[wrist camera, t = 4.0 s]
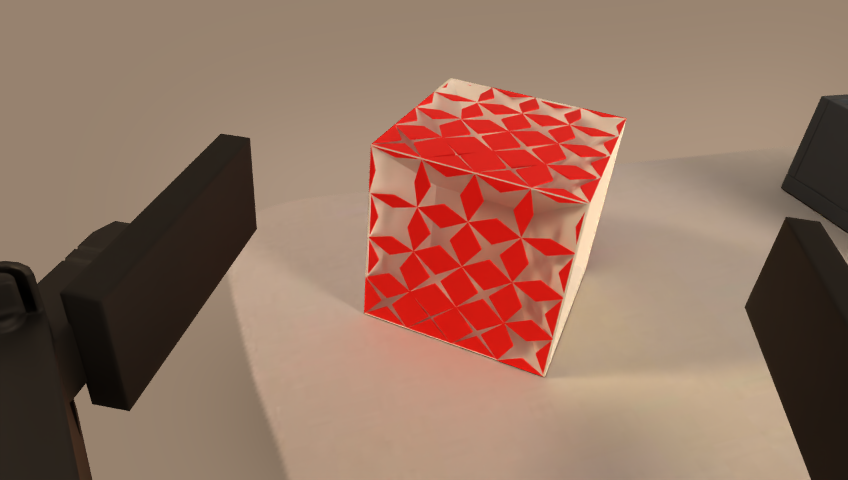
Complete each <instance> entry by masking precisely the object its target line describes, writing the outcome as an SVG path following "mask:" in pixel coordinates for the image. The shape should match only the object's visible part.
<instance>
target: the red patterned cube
mask: <svg viewBox="0 0 848 480" xmlns="http://www.w3.org/2000/svg"><path fill="white" fill-rule="evenodd" d="M626 120H627V118H623V117H618V116H614V115H610V114H606V113H601V112H597V111H593V110H588V109H584V108H579V107H574V106H571V105H566V104H562V103H557V102H553V101H549V100H544V99H539V98H536V97H532V96H527V95H523V94H518V93H514V92H510V91H505V90H501V89H497V88H492V87H488V86H483V85H479V84H475V83H470V82H466V81H462V80H457V79H453V78H450V79H449V80H447V81H446V82H445V83H444V84H443V85H442V86H440V87H439V88H438V89H437V90H435V91H434V92H433V93H432V94H431V95H430V96H428V97H427V98H426V99H425V100H424V101H422V102H421V103H420V104H419V105H418V106H416V107H415V108H414V109H413V110H412V111H410V112H409V113H408V114H407V115H406V116H404V117H403V118H402V119H401V120H400V121H398V122H397V123H396V124H395V125H394V126H392V127H391V128H390V129H389V130H388V131H386V132H385V133H384V134H383V135H382V136H380V137H379V138H378V139H377V140H376V141H375V142H373V143H372V144H371V152H370V179H369V203H368V228H367V254H366V279H365V304H364V314H367V315H370V316H373V317H376V318H379V319H382V320H384V321H387V322H390V323H393V324H396V325H399V326H401V327H404V328H407V329H410V330H413V331H416V332H418V333H421V334H424V335H427V336H430V337H433V338H435V339H438V340H441V341H444V342H447V343H450V344H452V345H455V346H458V347H461V348H464V349H467V350H470V351H472V352H475V353H478V354H481V355H484V356H487V357H489V358H492V359H495V360H497V361H500V362H503V363H506V364H508V365H511V366H514V367H517V368H520V369H523V370H525V371H528V372H531V373H534V374H537V375H540V376H542V377H545V375H546V373H547V370H548V367H549V365H550V362H551V359H552V357H553V354H554V351H555V349H556V346H557V344H558V341H559V338H560V336H561V333H562V330H563V328H564V325H565V322H566V320H567V317H568V314H569V312H570V309H571V307H572V304H573V301H574V299H575V296H576V293H577V291H578V288H579V285H580V283H581V280H582V277H583V275H584V272H585V269H586V266H587V262H588V258H589V255H590V251H591V248H592V244H593V240H594V237H595V233H596V229H597V226H598V222H599V218H600V215H601V211H602V207H603V204H604V200H605V197H606V193H607V189H608V186H609V182H610V178H611V175H612V171H613V167H614V164H615V160H616V156H617V153H618V149H619V146H620V142H621V138H622V135H623V131H624V127H625V124H626Z"/></svg>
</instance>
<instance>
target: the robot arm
mask: <svg viewBox="0 0 848 480" xmlns="http://www.w3.org/2000/svg"><path fill="white" fill-rule="evenodd" d="M256 229H257V226H256V213H255V200H254V186H253V174H252V161H251V147H250V138H245V137H239V136H233V135H225V134H220V135H219V136H218V137H217V138H216V139H215V140H214V141H213V142H212V143H211V144H210V145H209V146H208V147H207V148H206V149H205V150H204V151H203V152H202V153H201V154H200V155H199V156H198V157H197V158H196V159H195V160H194V161H193V162H192V163H191V164H190V165H189V166H188V167H187V168H186V169H185V170H184V171H183V172H182V173H181V174H180V175H179V176H178V177H177V178H176V179H175V180H174V181H173V182H172V183H171V184H170V185H169V186H168V187H167V188H166V189H165V190H164V191H163V192H162V193H160V194H159V195H158V197H156V198H155V199H154V200H153V201H152V202H151V203H150V204H149V205H148V206H147V207H146V208H145V209H144V211H142V212H141V213H140V214H139V215H138V216H137V217H136V218H135V219H134V220H133V221H132V222H131V223H124V222H118V221H115V222H113V223H110V224H108V225H106V226H104V227H102V228H100V229H98V230H97V231H95V232H93V233H92V234H91V235H90V236H88V237H87V238H86V239H85V240H84V241H83V242H82V243H81V244H80V245H79V246H78V249H74V250H73V251H72V252H71V253H70V254H69V255H68V256H67V257H66V258H65V261H62V262H60V263H59V264H58V265H57V266H56V267H55V268H54V269H53V270H52V271H51V272H50V273H48V274H47V275H46V276H45V277H44V278H43V279H42V280H41V281H40V282H39V283H38V284H37V282H36V279H35V276H34V274H33V272H32V270H31V269H30V267H28V266H26V265H23V264H21V263H19V262H9V261H2V262H0V480H92V476H91V472H90V467H89V463H88V458H87V453H86V449H85V444H84V440H83V435H82V431H81V426H80V421H79V417H78V413H77V408H76V405H75V402H74V397H75V396H76V395H77V394H78V392H79V391H80V390H81V388H82V387H83V386H84V385H85V384H87V388H88V391H89V394H90V398H91V401H92V404H95V405H101V406H106V407H111V408H116V409H122V410H127V411H130V410H131V408H132V407H133V405H134V404H135V403H136V401H137V400H138V398H139V397H140V395H141V394H142V392H143V391H144V390H145V388H146V387H147V385H148V384H149V382H150V381H151V380H152V378H153V377H154V375H155V374H156V372H157V371H158V370H159V368H160V367H161V365H162V364H163V362H164V361H165V360H166V358H167V357H168V355H169V354H170V352H171V351H172V349H173V348H174V347H175V345H176V344H177V342H178V341H179V340H180V338H181V337H182V335H183V334H184V332H185V331H186V329H187V328H188V327H189V325H190V324H191V322H192V321H193V319H194V318H195V317H196V315H197V314H198V312H199V311H200V309H201V308H202V306H203V305H204V304H205V302H206V301H207V299H208V298H209V296H210V295H211V294H212V292H213V291H214V289H215V288H216V287H217V285H218V284H219V282H220V281H221V279H222V278H223V277H224V275H225V274H226V272H227V271H228V269H229V268H230V267H231V265H232V264H233V262H234V261H235V259H236V258H237V257H238V255H239V254H240V252H241V251H242V249H243V248H244V247H245V245H246V244H247V242H248V241H249V239H250V238H251V236H252V235H253V234H254V232H255V231H256ZM745 309H746V312H747V314H748V317H749V319H750V322H751V325H752V327H753V330H754V332H755V335H756V338H757V340H758V343H759V345H760V348H761V351H762V353H763V356H764V358H765V361H766V364H767V366H768V369H769V371H770V374H771V377H772V379H773V382H774V384H775V387H776V390H777V392H778V395H779V397H780V400H781V402H782V405H783V408H784V410H785V413H786V415H787V418H788V421H789V423H790V426H791V428H792V431H793V434H794V436H795V439H796V441H797V444H798V447H799V449H800V452H801V454H802V457H803V460H804V462H805V465H806V467H807V470H808V473H809V475H810V478H811V480H848V265H847V263H846V262H845V260H844V259H843V257H842V255H841V254H840V252H839V251H838V249H837V248H836V246H835V245H834V243H833V241H832V240H831V238H830V237H829V235H828V234H827V232H826V231H825V229H824V228H823V226H822V224H821V223H820V222H817V221H811V220H804V219H797V218H790V217H786V218H785V220H784V222H783V225H782V227H781V229H780V231H779V233H778V236H777V238H776V240H775V242H774V244H773V246H772V249H771V251H770V253H769V255H768V257H767V260H766V262H765V264H764V266H763V268H762V270H761V273H760V275H759V277H758V279H757V281H756V284H755V286H754V288H753V290H752V292H751V294H750V297H749V299H748V301H747V303H746V305H745Z"/></svg>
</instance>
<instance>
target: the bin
mask: <svg viewBox="0 0 848 480" xmlns="http://www.w3.org/2000/svg"><path fill="white" fill-rule="evenodd" d="M781 188H783V189H784V190H786V191H787V192H789V193H790V194H792V195H793V196H795V197H796V198H798V199H799V200H800V201H802V202H803V203H805V204H806V205H808V206H809V207H811V208H812V209H814V210H815V211H817V212H818V213H820V214H821V215H823V216H824V217H826V218H827V219H829V220H830V221H832V222H833V223H835V224H836V225H838V226H839V227H841V228H842V229H844V230H845V231H847V232H848V95H834V96H822V97H821V99H820V102H819V103H818V106H817V108H816V110H815V113H814V115H813V117H812V119H811V121H810V123H809V126H808V128H807V130H806V133H805V135H804V137H803V139H802V141H801V144H800V146H799V148H798V150H797V153H796V155H795V157H794V159H793V162H792V164H791V166H790V168H789V171H788V174H787V175H786V177H785V180H784V182H783V184H782V186H781Z"/></svg>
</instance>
